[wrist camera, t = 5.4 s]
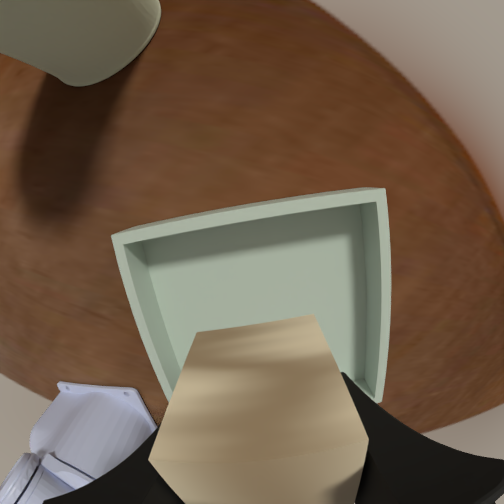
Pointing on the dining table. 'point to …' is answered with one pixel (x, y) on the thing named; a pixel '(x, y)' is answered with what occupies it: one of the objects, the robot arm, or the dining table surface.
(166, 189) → the dining table surface
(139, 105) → the dining table surface
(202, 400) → the birch block
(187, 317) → the bin
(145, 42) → the can
